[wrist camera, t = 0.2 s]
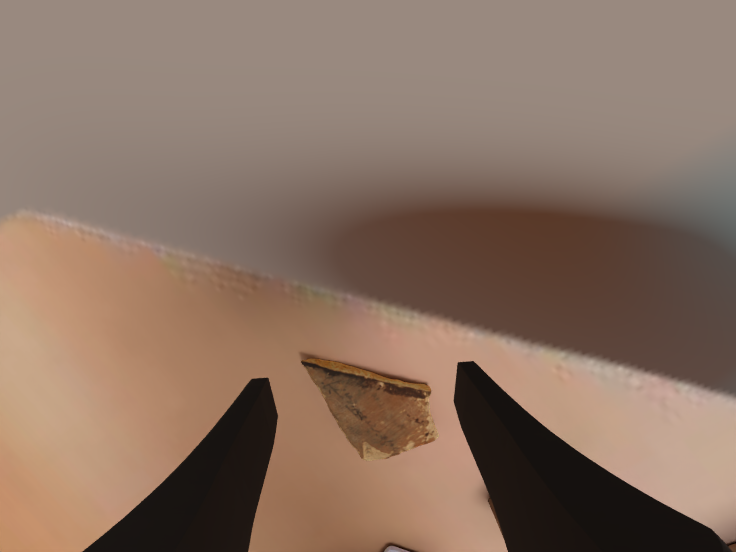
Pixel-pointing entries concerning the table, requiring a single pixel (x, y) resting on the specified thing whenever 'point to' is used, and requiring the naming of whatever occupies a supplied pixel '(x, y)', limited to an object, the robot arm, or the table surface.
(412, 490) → the table surface
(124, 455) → the table surface
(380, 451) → the shard
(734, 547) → the wooden block
